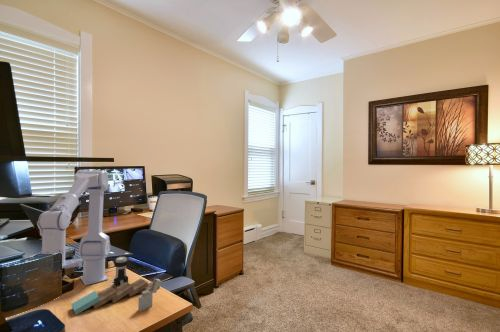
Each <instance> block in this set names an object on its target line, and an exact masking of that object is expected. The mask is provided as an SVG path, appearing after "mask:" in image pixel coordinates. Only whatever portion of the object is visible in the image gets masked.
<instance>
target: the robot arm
mask: <svg viewBox="0 0 500 332" xmlns="http://www.w3.org/2000/svg"><path fill="white" fill-rule="evenodd" d="M108 185H109V176H108V174H107V171H106V170H103V169H102V170H82V169H79V170H78V171H77V172H76V173H75V174H74V183H73V184H72V185H71V187H70V189H69V190H68V192H67V193H63V194H61V196H60V197H59V198H58V199H57V200H56V201H55V202H54V203H53V205H52V206H51V207H50V209H49V210H44V212H42V213H41V214H39V217H38V220H37V221H36V226H37V228H38V229H39V235H40V236H41V241H42V242H41V255H42V254H54V253H61V254H62V268H63V269H62V270H63V271H62V279H63V278H64V277H65V275H66V269H71V268H76V267H83V269H82V271H83V273H82V275H81V276H79V278H80V279H81V281H82V282H83V284H84V286H88V285H92V284H96V283H100V282H104V281H107V280H109V278H108V276H107V275H106V274H105V273H106V257H107V255H109V254H110V251H111V242H110V236H109V235H107V234H106V233H104V232H103V216H104V215H103V214H104V197H105V195H104V194H105V193H104V192H106V191H108V187H109V186H108ZM85 192H87V193H88V194H89V195H88V196H89V198H88V200H89V201H88V218H87V219H88V221H87V222H88V223H87V224H88V225H87V234H85V235H84V236H83V237H82V238H80V243H79V247H78V254H79V256H80V257H81V258H75V259H66V237H67V235H66V233H67V232H66V230H67V228H68V227H69V226H70V223H71V219H72V216H73V215H72V214H73V212H74V211H75V210H76V208H77V207H78V206H79V203H80V202H79V199H80V197H81V196H82V195H83V194H84V193H85Z"/></svg>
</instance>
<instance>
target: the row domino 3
mask: <svg viewBox="0 0 500 332" xmlns="http://www.w3.org/2000/svg"><path fill="white" fill-rule="evenodd" d="M148 283H149V282H148V281H146V280H145V279H143V278H139V279H137V280H136V281H133V282H132V283H129V284H130V285H132V286H133V289H134V290H133V291H131V292H130V293H128V294H127V295H126V296H127V297H129V298H131V297H133V296H135V295H136V294H139V291H141V290H143V289H144V288H146V287H148Z"/></svg>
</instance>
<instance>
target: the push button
mask: <svg viewBox="0 0 500 332" xmlns="http://www.w3.org/2000/svg"><path fill="white" fill-rule="evenodd" d="M129 262H130V261H129V258H127V257H126V256H120V257H117V258H115V260H113V265H114V267H115V276H114V278H113V281H112V282H109V286H108V287H111V286H112V287H113V286H114V287H119V286H120V285H122V284H124V283H125V282H128V283H129V276H127V266H128V265H129Z"/></svg>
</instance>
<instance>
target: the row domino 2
mask: <svg viewBox="0 0 500 332" xmlns="http://www.w3.org/2000/svg"><path fill="white" fill-rule="evenodd" d="M130 284H131V283H129V281H128V282H125V283H124V284H122V285H119V286H116V288H113V289H114V290H115V291H116V293H117V296H116V297H114V298H112V299H111V300H110V301H111V302H112V303H113V304H114V303H116V302H118V301H119V300H121V299H122V298H124V297H125V296H128V295H127V294H128V293H130V292H131V291H133V290H134V289H133V286H132V285H130Z"/></svg>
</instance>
